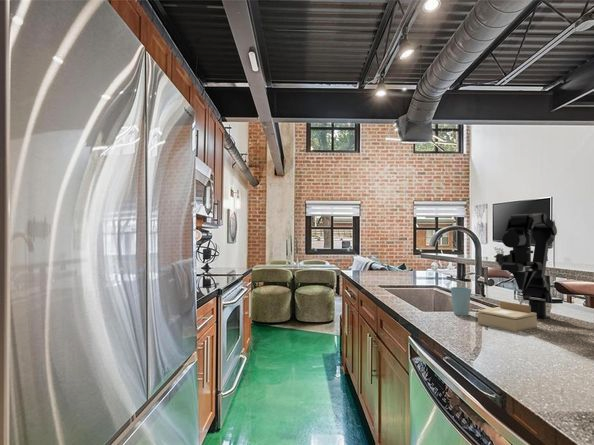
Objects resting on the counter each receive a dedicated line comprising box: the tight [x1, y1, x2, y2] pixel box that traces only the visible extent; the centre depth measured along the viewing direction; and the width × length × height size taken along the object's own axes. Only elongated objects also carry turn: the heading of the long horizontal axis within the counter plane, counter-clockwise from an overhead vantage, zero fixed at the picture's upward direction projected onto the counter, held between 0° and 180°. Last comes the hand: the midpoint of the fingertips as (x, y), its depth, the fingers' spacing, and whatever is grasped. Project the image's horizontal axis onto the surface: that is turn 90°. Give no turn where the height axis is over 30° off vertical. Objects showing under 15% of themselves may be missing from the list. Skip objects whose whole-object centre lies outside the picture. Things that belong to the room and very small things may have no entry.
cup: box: [450, 286, 472, 316], centre depth 145 cm, size 8×8×10 cm
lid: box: [477, 300, 537, 319], centre depth 126 cm, size 14×13×3 cm
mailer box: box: [477, 312, 538, 333], centre depth 126 cm, size 14×13×4 cm
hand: (522, 289), depth 132 cm, fingers open, 2 cm apart
